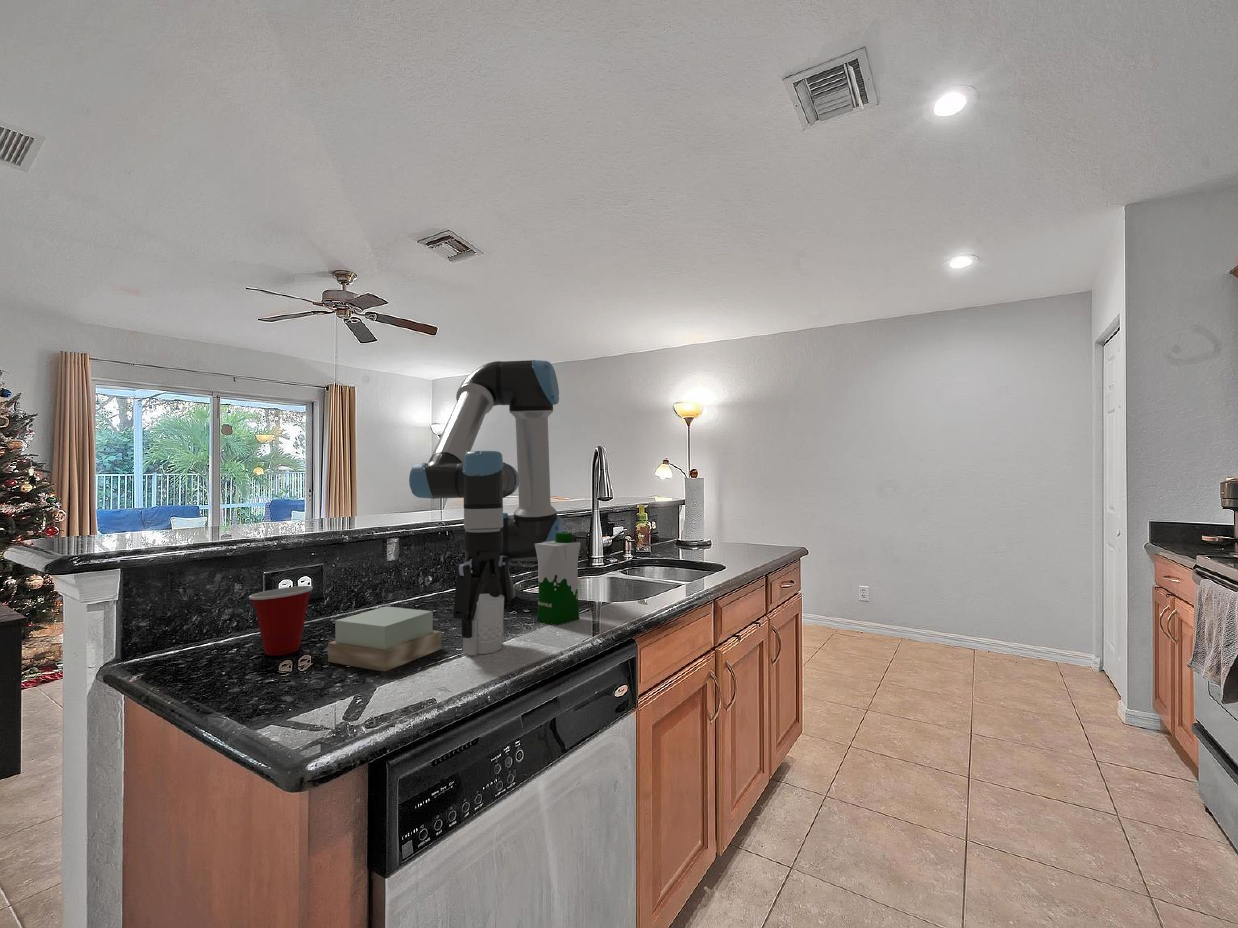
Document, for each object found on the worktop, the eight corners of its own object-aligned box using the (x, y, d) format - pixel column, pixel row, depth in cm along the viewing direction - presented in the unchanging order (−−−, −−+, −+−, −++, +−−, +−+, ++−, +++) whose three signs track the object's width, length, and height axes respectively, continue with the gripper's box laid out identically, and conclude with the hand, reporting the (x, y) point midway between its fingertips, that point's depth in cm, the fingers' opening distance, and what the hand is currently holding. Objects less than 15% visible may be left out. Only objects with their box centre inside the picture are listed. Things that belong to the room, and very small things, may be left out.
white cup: (490, 641, 116) (490, 591, 116) (512, 649, 110) (512, 597, 110) (455, 649, 110) (455, 597, 110) (476, 658, 104) (476, 603, 105)
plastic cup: (272, 642, 116) (273, 583, 116) (324, 643, 115) (324, 584, 115) (233, 660, 105) (234, 594, 105) (290, 660, 104) (290, 595, 105)
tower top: (386, 626, 115) (386, 606, 115) (432, 631, 110) (432, 611, 110) (335, 642, 104) (335, 620, 104) (384, 649, 99) (384, 626, 99)
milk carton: (585, 619, 133) (584, 533, 133) (556, 627, 126) (555, 536, 126) (559, 613, 138) (558, 531, 139) (530, 620, 132) (530, 534, 132)
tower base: (387, 643, 116) (387, 624, 116) (441, 651, 111) (441, 631, 111) (327, 664, 104) (327, 642, 104) (385, 674, 98) (385, 651, 98)
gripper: (498, 525, 121) (499, 632, 121) (431, 534, 103) (431, 661, 102) (528, 526, 118) (529, 636, 118) (464, 535, 100) (465, 666, 99)
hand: (483, 647), depth 110 cm, fingers closed on white cup, 8 cm apart
